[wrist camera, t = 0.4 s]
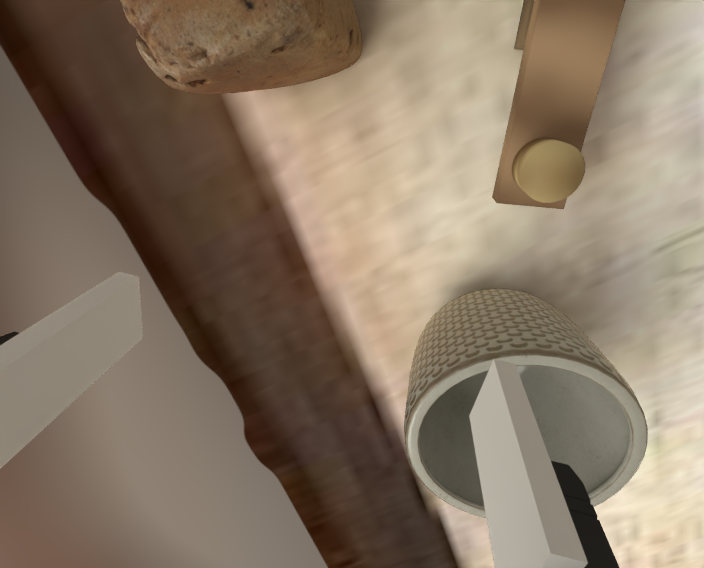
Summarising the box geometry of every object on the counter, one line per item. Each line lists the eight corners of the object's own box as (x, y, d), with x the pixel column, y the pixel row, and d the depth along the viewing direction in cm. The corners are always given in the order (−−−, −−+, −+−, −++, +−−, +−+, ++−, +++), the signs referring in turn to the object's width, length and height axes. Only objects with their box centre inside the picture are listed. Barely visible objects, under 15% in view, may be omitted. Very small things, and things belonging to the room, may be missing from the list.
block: (349, -38, 32) (266, -206, 14) (372, 65, 35) (328, 36, 17) (228, 9, 34) (27, -82, 16) (259, 102, 37) (116, 110, 19)
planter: (508, 416, 49) (548, 551, 34) (381, 357, 47) (366, 471, 33) (607, 306, 41) (711, 420, 27) (457, 232, 40) (482, 310, 26)
